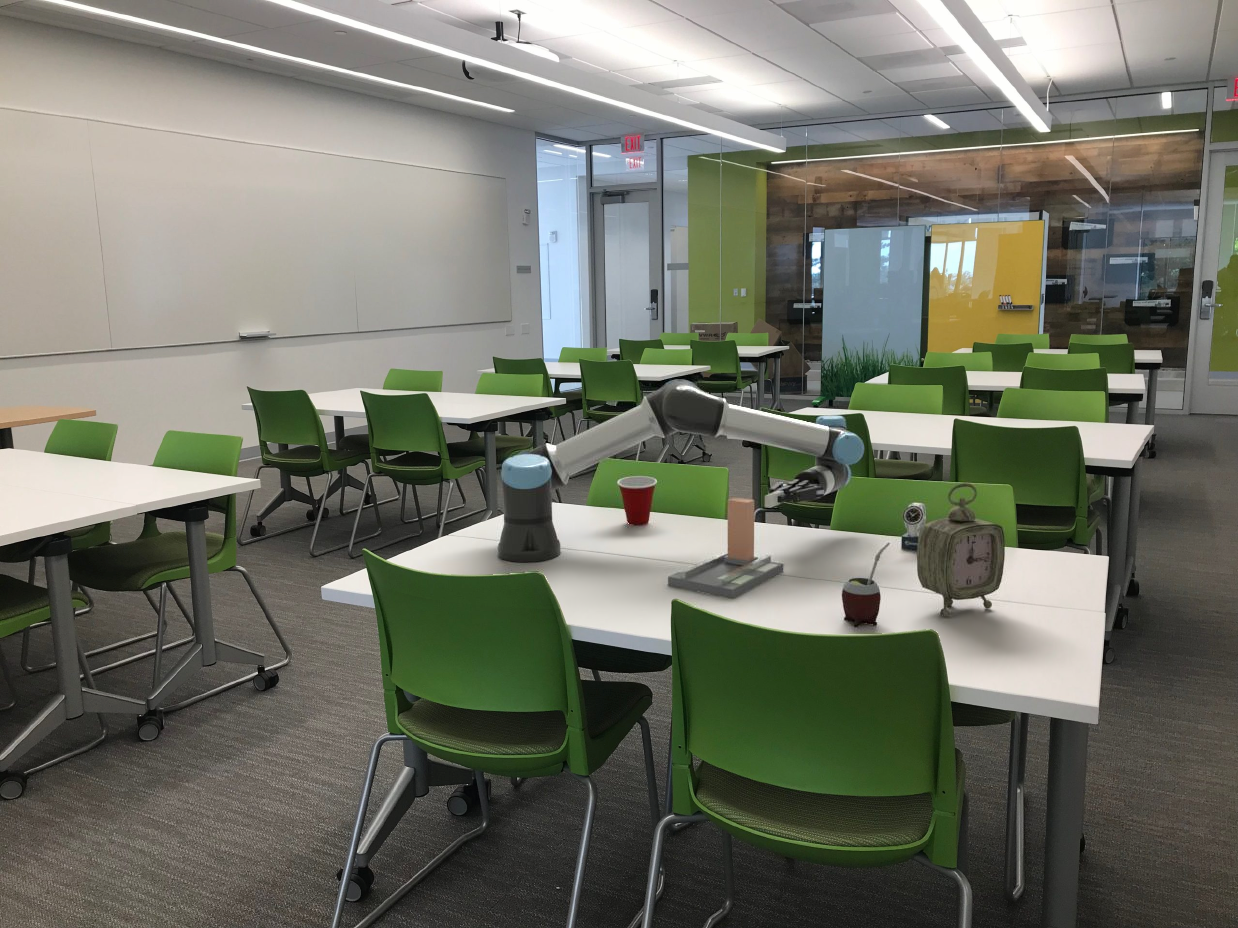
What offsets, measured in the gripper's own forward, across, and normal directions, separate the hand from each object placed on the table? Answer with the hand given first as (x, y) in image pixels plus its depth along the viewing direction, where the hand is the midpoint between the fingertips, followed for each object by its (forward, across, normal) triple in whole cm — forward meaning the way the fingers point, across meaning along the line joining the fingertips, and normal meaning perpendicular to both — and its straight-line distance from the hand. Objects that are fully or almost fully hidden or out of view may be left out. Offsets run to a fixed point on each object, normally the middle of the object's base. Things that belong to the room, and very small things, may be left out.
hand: (767, 501), depth 218 cm
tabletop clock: (+9, -46, -14) cm, 49 cm away
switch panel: (+17, +1, -14) cm, 22 cm away
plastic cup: (-13, +47, -14) cm, 50 cm away
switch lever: (+11, +1, -12) cm, 16 cm away
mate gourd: (+26, -34, -14) cm, 46 cm away
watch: (-29, -24, -15) cm, 40 cm away
